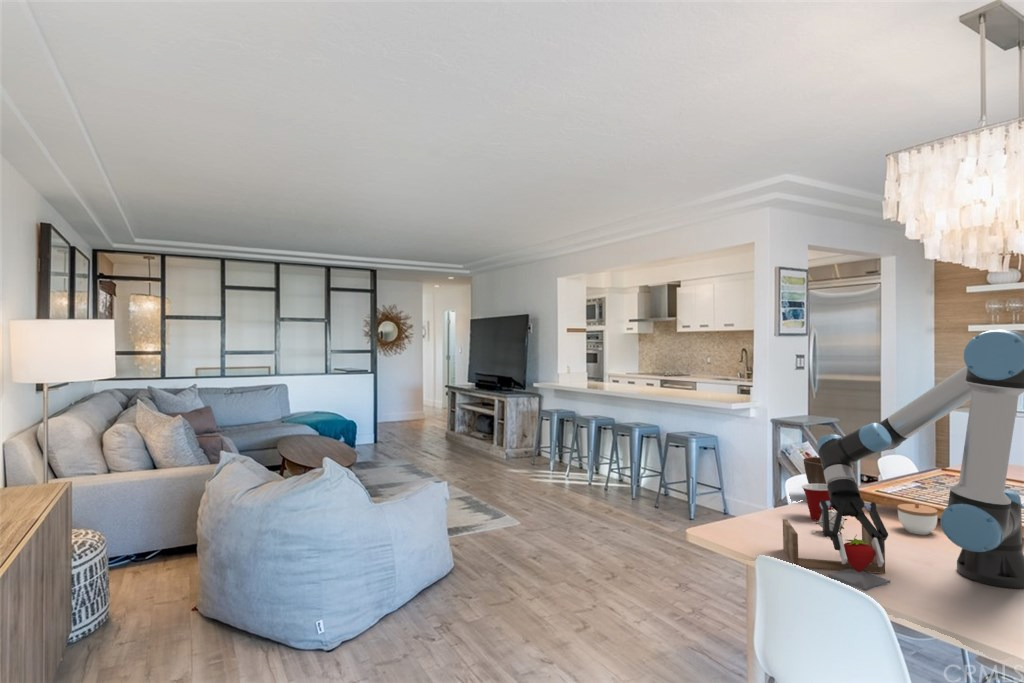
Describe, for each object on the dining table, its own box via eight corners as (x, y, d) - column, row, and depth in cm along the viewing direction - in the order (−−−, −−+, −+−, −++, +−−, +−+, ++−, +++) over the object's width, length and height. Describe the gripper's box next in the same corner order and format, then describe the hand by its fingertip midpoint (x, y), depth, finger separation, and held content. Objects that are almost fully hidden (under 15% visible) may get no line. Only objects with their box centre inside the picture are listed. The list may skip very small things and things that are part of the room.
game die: (838, 546, 181) (854, 527, 175) (811, 536, 183) (826, 516, 177) (835, 526, 188) (850, 506, 183) (809, 516, 190) (823, 496, 184)
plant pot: (850, 500, 222) (849, 459, 222) (844, 508, 211) (843, 466, 211) (808, 494, 232) (807, 455, 232) (800, 502, 220) (799, 461, 220)
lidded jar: (943, 532, 182) (942, 503, 182) (930, 539, 176) (929, 509, 176) (906, 524, 191) (905, 497, 191) (892, 530, 184) (891, 502, 185)
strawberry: (878, 578, 142) (877, 538, 142) (844, 574, 145) (843, 535, 145) (873, 569, 148) (871, 531, 148) (840, 566, 150) (839, 528, 151)
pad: (890, 582, 144) (890, 580, 144) (866, 590, 139) (866, 588, 139) (852, 569, 153) (852, 567, 153) (828, 576, 148) (828, 574, 148)
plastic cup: (808, 513, 206) (808, 480, 206) (841, 519, 198) (840, 485, 198) (797, 519, 198) (796, 485, 199) (830, 525, 190) (829, 490, 191)
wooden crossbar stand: (783, 549, 169) (782, 519, 169) (867, 555, 163) (866, 524, 163) (793, 566, 156) (792, 533, 156) (885, 573, 150) (884, 539, 150)
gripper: (879, 493, 159) (904, 573, 143) (800, 490, 164) (816, 566, 148) (885, 479, 154) (913, 559, 138) (804, 476, 159) (821, 553, 143)
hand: (862, 562), depth 143 cm, fingers open, 8 cm apart
